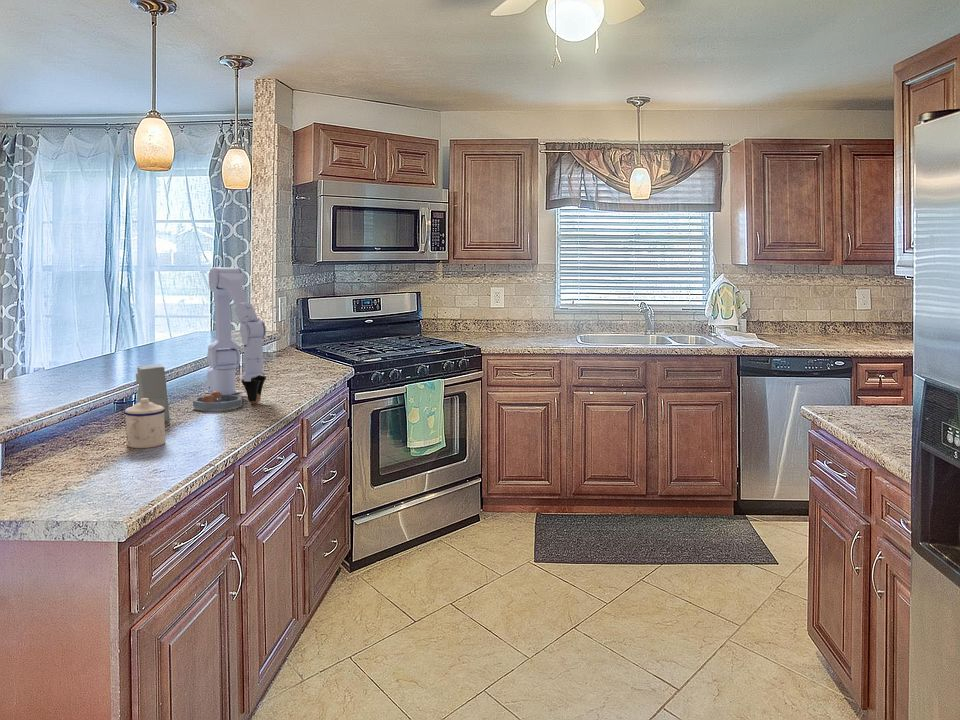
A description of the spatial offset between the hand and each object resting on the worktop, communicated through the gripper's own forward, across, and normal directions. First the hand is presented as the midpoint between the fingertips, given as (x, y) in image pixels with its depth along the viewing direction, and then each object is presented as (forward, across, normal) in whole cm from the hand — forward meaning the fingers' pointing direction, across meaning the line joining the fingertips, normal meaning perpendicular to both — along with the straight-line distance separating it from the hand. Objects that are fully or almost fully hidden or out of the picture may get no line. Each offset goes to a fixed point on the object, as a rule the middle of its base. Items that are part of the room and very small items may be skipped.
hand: (254, 399), depth 221 cm
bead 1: (-1, -3, +12) cm, 12 cm away
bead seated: (-1, -8, +12) cm, 14 cm away
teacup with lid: (+2, -52, +12) cm, 53 cm away
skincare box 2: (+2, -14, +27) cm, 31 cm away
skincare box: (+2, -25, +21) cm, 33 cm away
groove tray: (+1, -5, +10) cm, 11 cm away
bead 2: (0, 0, 0) cm, 0 cm away
